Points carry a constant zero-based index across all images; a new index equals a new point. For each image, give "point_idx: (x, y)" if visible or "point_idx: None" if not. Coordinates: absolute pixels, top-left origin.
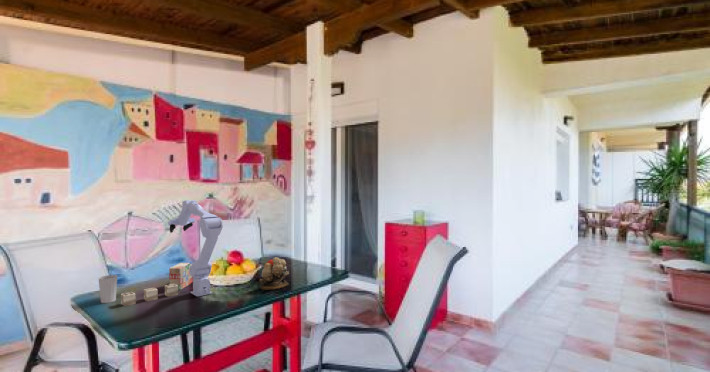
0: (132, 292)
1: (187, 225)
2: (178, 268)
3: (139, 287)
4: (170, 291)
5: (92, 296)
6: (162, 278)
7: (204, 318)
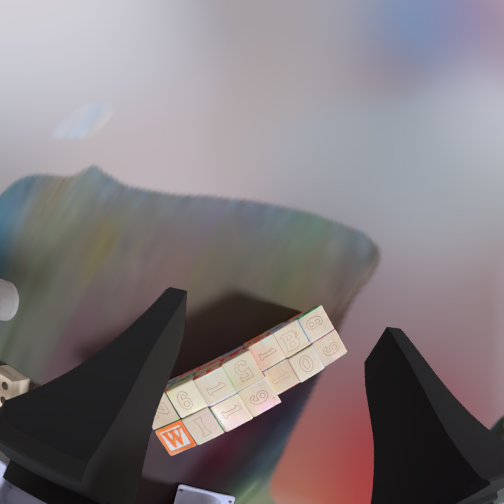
0: (9, 389)
1: (387, 496)
2: (165, 447)
3: (122, 247)
4: None
5: (14, 213)
6: (249, 207)
7: None
